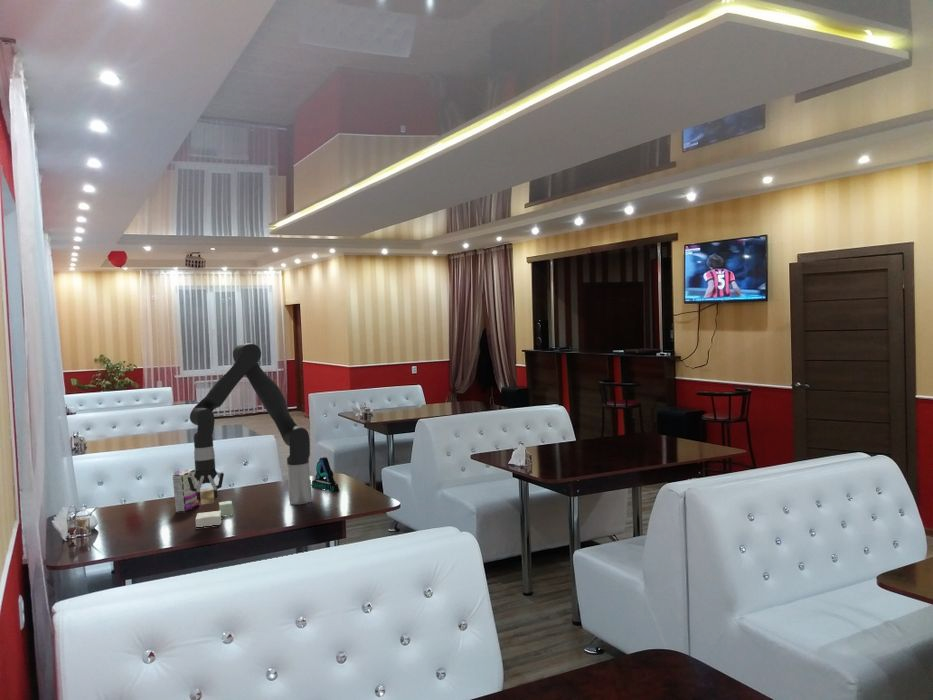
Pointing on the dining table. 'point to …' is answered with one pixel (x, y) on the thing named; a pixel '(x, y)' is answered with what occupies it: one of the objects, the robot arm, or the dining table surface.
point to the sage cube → (225, 508)
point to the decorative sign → (324, 476)
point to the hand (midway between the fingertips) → (207, 499)
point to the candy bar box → (184, 491)
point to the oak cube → (207, 496)
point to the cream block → (208, 518)
